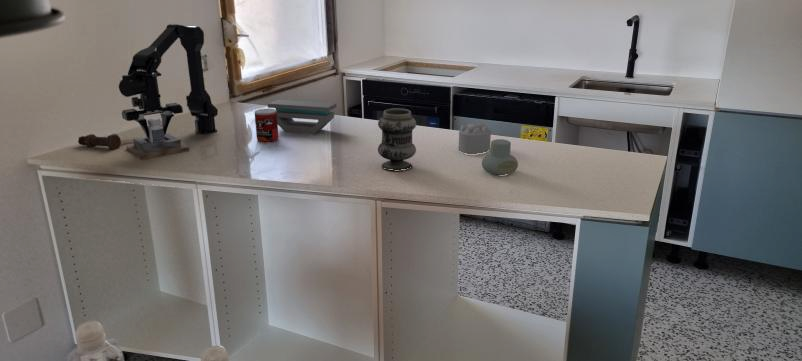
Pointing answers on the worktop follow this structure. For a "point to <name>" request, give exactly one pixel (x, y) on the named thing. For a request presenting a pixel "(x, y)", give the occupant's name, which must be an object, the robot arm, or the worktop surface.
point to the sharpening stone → (302, 115)
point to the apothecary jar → (397, 138)
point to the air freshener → (500, 158)
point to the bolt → (100, 141)
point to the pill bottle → (155, 130)
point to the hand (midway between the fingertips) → (156, 135)
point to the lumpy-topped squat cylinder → (474, 138)
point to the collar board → (154, 154)
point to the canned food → (266, 125)
